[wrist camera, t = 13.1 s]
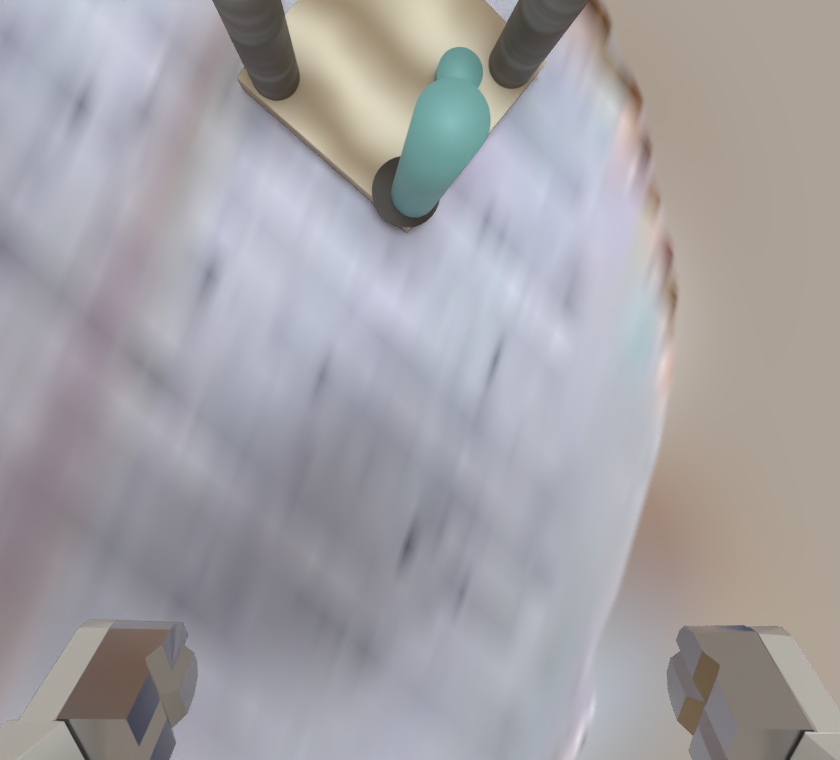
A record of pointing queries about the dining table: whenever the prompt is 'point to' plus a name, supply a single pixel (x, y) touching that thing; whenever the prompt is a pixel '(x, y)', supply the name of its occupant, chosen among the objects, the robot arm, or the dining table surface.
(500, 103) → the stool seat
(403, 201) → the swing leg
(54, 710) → the robot arm
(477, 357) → the dining table surface
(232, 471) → the dining table surface
